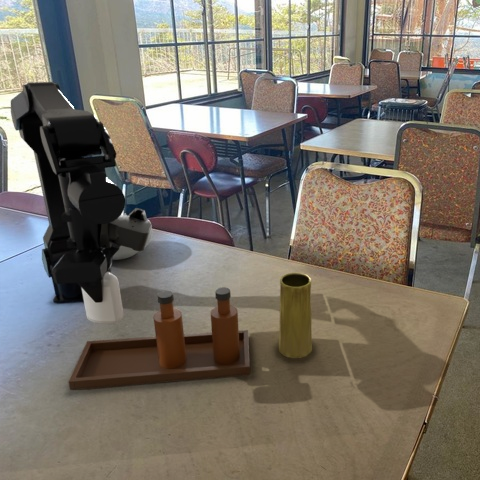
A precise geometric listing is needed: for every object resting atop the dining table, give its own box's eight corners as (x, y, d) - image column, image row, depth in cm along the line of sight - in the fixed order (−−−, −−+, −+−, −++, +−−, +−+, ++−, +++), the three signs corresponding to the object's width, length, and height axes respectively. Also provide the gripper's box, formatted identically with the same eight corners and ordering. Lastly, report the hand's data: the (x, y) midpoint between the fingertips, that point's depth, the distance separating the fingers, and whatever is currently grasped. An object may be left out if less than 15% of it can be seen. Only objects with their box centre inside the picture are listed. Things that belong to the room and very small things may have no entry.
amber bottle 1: (157, 369, 79) (148, 302, 74) (161, 353, 83) (152, 288, 78) (185, 367, 80) (177, 300, 74) (187, 351, 84) (180, 286, 78)
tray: (70, 392, 74) (68, 381, 74) (89, 351, 84) (87, 341, 83) (250, 377, 79) (249, 366, 78) (248, 339, 88) (247, 329, 88)
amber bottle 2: (213, 365, 80) (208, 298, 75) (214, 349, 84) (209, 285, 79) (239, 363, 81) (236, 296, 76) (239, 347, 85) (236, 283, 80)
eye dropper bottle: (101, 331, 75) (89, 262, 70) (84, 317, 78) (71, 251, 74) (127, 319, 78) (117, 253, 73) (109, 307, 81) (99, 242, 77)
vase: (286, 364, 82) (286, 291, 76) (272, 345, 87) (271, 275, 81) (318, 355, 85) (320, 284, 79) (303, 336, 90) (304, 268, 84)
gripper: (131, 224, 63) (145, 324, 69) (152, 183, 80) (162, 266, 86) (40, 227, 61) (63, 329, 68) (81, 184, 78) (96, 269, 84)
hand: (102, 295), depth 77 cm, fingers closed on eye dropper bottle, 4 cm apart
